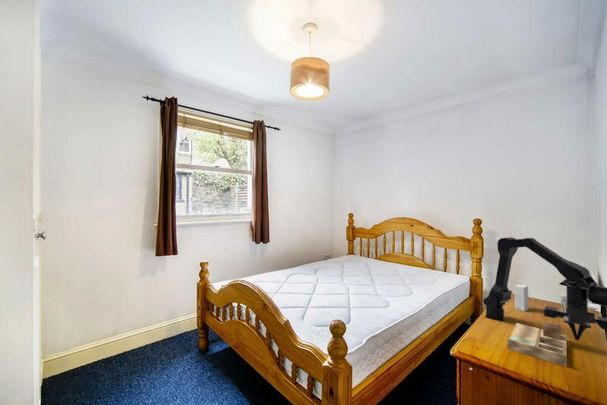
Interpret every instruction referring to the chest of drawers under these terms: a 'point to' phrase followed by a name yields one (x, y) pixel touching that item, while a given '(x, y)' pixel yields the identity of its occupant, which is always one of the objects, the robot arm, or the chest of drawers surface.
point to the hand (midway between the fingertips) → (577, 339)
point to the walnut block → (552, 330)
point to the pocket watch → (563, 305)
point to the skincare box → (521, 297)
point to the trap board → (538, 344)
